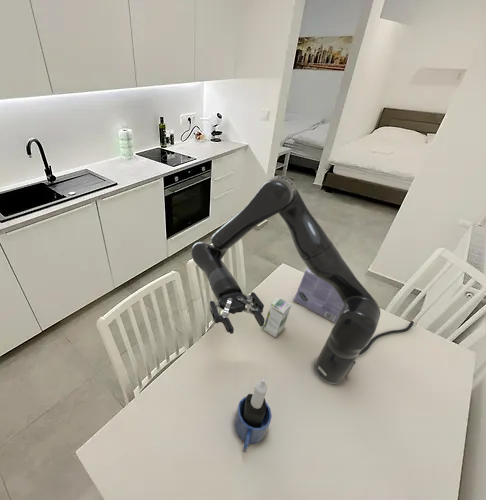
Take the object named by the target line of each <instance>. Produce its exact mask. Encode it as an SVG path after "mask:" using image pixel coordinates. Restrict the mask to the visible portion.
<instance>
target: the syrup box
mask: <svg viewBox="0 0 486 500" xmlns="http://www.w3.org/2000/svg"><path fill="white" fill-rule="evenodd" d="M291 309H292V304H291V303H289V302H288V301H286V300H284V299H283V298H281V297H277V298H276V299H275V300H273V302H271V303H270V305H269V307H268V311H267V315H266V318H265V321H264V325H263V330H264V331H265V332H267V333H268V334H270V335H271V336H272V337H274V338H277V336H279V334H281V332H282V331H283V330H284V328H285V325H286V322H287V319H288V316H289V314H290V311H291Z"/></svg>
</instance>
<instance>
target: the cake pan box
mask: <svg viewBox="0 0 486 500" xmlns="http://www.w3.org/2000/svg"><path fill="white" fill-rule="evenodd" d="M295 293H296V294H295V296H294V298H293V302H294V303H297V304H298V305H300V306H302V307H304V308H306V309H308V310H309V311H311V312H313V313H315V314H316V315H319V316H321V317H323V318H324V319H327V320H329V321H330V322H332V323H334V324H335V323H336V321H337V319H338V317H339V315H340V313H341V311H342V309H343V306H344V303H343V301H342V299H341V297H340V296H339V294H338V293H337V291H336V290H335V289H334V288H333V287H332V286H331V285H330V284H329V283H327V282H325V281H324V280H322V279H320V278H318V277H317V276H315V275H314V274H313V273H312V272H311V271H310V270H309V269H308V267H306V269H305V270H304V273H303V275H302V278H301V281H300V283H299V286H298V288H297V290H296V292H295Z"/></svg>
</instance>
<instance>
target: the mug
mask: <svg viewBox="0 0 486 500" xmlns="http://www.w3.org/2000/svg"><path fill="white" fill-rule="evenodd" d="M246 397H247V395H246V396H244V397H243V398H242V399H241V400H240V401H239V403H238V406H237V410H236V414H235V418H234V430H235V432H236V435H237V436H238V437H239V438H240V439H241V440H242V441H243V447H242V452H243V453H244V454H246V453H247V450H248V447H249V445H256V444H258V443H261V442H262V441H263V440H264V438H265V436H266V435H267V431H268V429H269V427H270V424H271V422H272V417H273V415H272V410H271V407H270V406H269V404H268V402H266V413H265V416H264V419H263V421H262V424H261V426H260V428H253V427H251V426H249V425H247V424H246V423H245V422H244V421H243V419H242V417H241V416H242V412H243V408H244V405H245V401H246Z"/></svg>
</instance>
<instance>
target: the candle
mask: <svg viewBox="0 0 486 500" xmlns="http://www.w3.org/2000/svg"><path fill="white" fill-rule="evenodd" d="M267 392H268V385H267V384H266V379H265V378H262V379H261V381H258V382H256V384H255V386H254V390H253V393H247V395H246V396H247V397H246V396H245V397H246V401H245V405H244V408H243V412H242V416H241V417H242V419H243V421H244V422H245V423H246V424H247V425H249V426H251V427H253V428H260V426H261V424H262V421H263V419H264V416H265V413H266V403H267V402H266V401H267V400H266V395H267Z"/></svg>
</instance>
